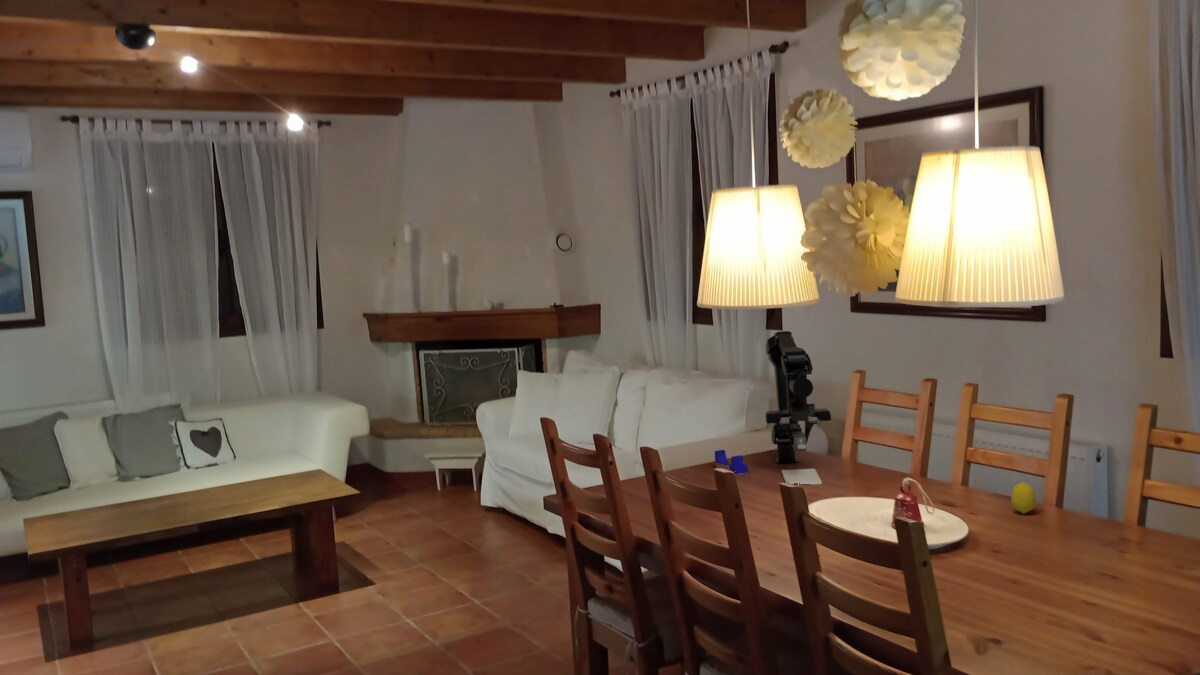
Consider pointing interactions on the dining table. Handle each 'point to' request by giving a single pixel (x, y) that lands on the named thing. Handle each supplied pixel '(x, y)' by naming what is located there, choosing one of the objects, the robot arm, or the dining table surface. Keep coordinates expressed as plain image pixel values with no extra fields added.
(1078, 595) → the dining table surface
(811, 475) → the mat
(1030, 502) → the lemon
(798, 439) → the connector
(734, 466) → the cable clip
